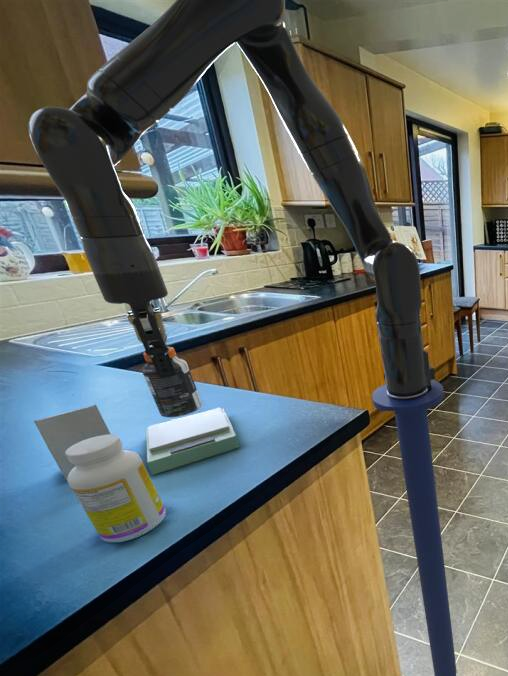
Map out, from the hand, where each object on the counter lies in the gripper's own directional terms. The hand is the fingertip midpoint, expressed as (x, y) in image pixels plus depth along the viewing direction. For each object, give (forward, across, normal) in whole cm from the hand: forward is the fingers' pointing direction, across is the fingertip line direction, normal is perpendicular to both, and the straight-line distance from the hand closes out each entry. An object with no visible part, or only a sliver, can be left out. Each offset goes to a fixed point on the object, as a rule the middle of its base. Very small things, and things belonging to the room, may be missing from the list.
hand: (166, 370), depth 67 cm
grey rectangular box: (+14, +1, +13) cm, 19 cm away
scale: (+14, -2, 0) cm, 14 cm away
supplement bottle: (+14, -22, +8) cm, 27 cm away
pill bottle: (+8, 0, 0) cm, 8 cm away
